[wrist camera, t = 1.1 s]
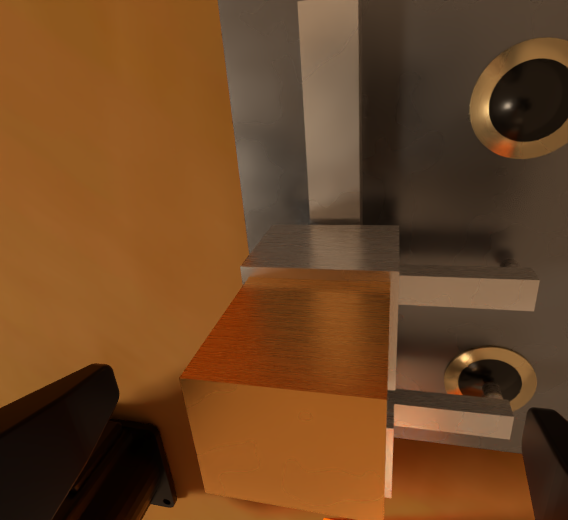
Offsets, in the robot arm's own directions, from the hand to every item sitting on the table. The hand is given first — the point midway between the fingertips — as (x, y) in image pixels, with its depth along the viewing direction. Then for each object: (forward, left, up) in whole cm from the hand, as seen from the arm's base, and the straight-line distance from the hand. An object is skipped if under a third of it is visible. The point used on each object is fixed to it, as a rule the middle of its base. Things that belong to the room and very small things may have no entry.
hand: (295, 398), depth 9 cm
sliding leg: (0, -2, -7) cm, 7 cm away
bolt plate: (0, -3, -9) cm, 9 cm away
